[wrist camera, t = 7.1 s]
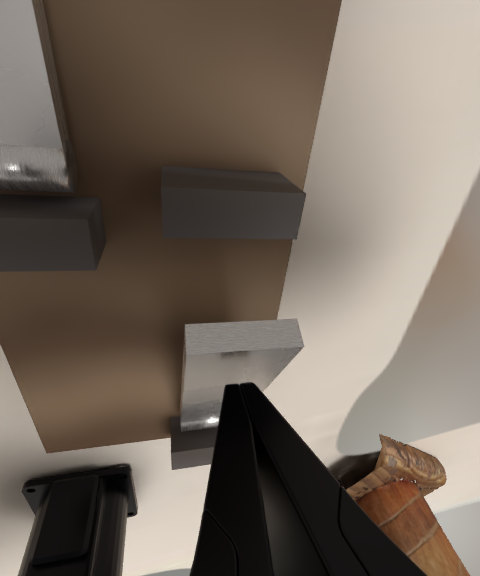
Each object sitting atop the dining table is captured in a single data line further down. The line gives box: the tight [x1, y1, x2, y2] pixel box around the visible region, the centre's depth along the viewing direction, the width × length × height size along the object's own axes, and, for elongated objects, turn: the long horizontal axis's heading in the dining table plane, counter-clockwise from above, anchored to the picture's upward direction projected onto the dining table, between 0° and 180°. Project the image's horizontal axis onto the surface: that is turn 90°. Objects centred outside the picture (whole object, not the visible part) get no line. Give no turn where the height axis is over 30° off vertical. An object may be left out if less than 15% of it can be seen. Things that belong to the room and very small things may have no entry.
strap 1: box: [180, 319, 304, 432], centre depth 12 cm, size 11×3×1 cm, turn 174°
